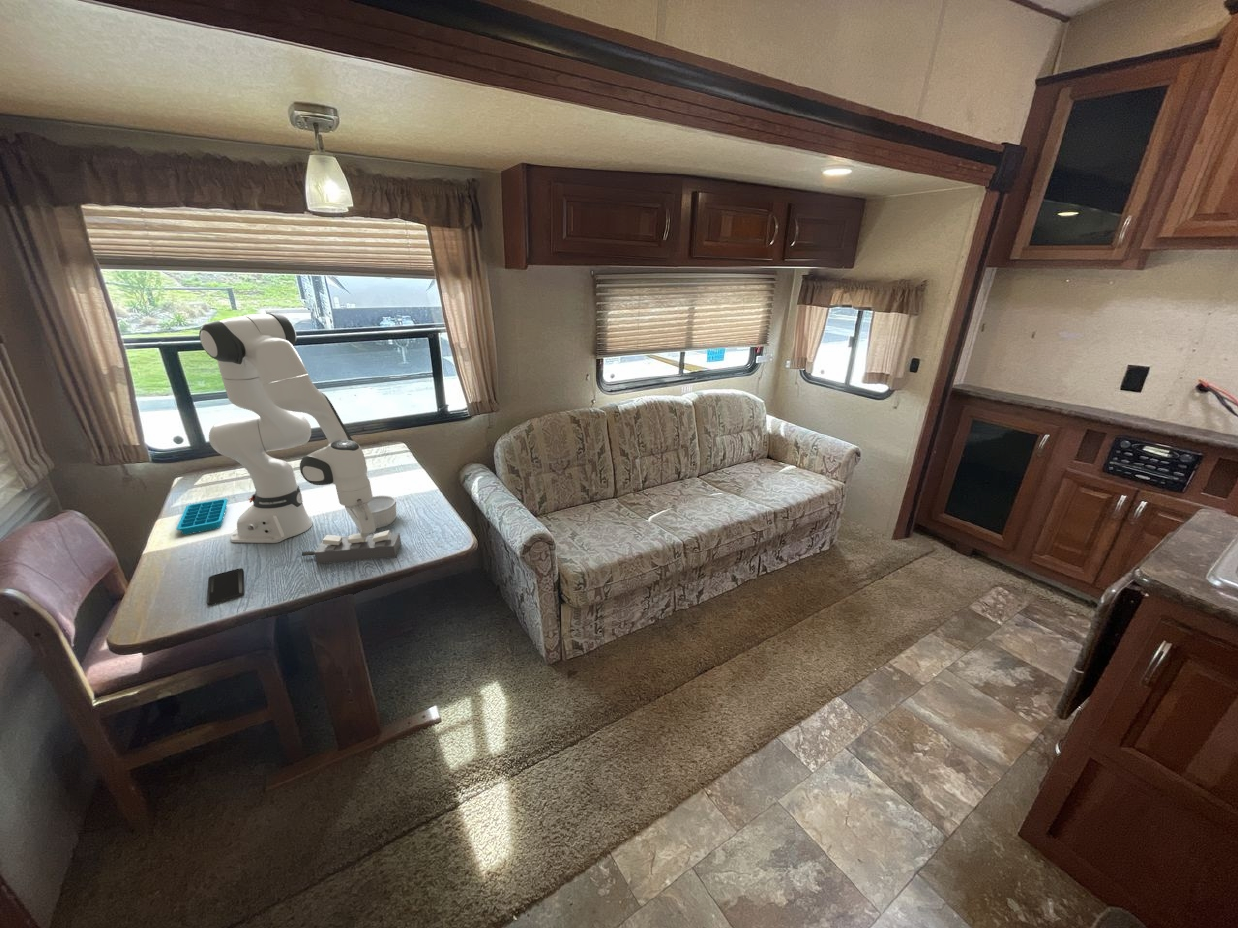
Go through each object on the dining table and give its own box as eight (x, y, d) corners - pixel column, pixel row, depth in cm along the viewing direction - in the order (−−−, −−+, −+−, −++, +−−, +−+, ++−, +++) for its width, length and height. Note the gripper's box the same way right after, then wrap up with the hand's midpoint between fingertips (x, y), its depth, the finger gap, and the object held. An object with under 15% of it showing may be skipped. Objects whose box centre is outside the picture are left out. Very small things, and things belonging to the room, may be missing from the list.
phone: (242, 567, 140) (243, 593, 129) (243, 570, 141) (244, 597, 130) (208, 576, 136) (205, 604, 125) (209, 579, 136) (207, 608, 125)
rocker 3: (374, 542, 148) (372, 538, 147) (376, 537, 150) (374, 533, 150) (388, 538, 148) (386, 534, 147) (390, 533, 151) (389, 529, 150)
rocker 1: (322, 543, 144) (322, 539, 144) (326, 538, 147) (326, 534, 147) (338, 545, 146) (339, 541, 145) (342, 540, 148) (342, 536, 148)
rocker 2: (348, 543, 146) (347, 539, 146) (351, 538, 149) (350, 534, 148) (364, 541, 147) (363, 537, 146) (366, 536, 150) (365, 532, 149)
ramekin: (353, 532, 161) (349, 514, 158) (361, 514, 173) (357, 497, 170) (395, 528, 164) (392, 510, 162) (401, 510, 176) (398, 493, 174)
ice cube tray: (178, 538, 156) (175, 529, 155) (189, 512, 172) (186, 505, 171) (223, 529, 162) (220, 521, 161) (230, 505, 178) (227, 497, 177)
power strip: (298, 565, 143) (294, 552, 141) (308, 551, 150) (305, 538, 148) (395, 557, 148) (393, 544, 146) (401, 543, 155) (399, 531, 154)
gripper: (376, 503, 137) (384, 545, 142) (358, 480, 151) (366, 519, 157) (352, 510, 133) (361, 553, 138) (335, 485, 148) (344, 525, 153)
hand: (363, 535), depth 148 cm, fingers closed
